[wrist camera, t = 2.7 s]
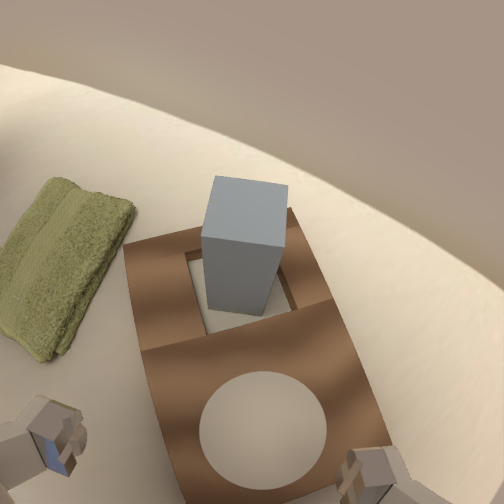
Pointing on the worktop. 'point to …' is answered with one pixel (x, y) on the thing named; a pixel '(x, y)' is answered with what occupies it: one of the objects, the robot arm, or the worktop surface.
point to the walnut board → (245, 361)
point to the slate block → (243, 243)
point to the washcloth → (57, 264)
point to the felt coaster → (262, 430)
